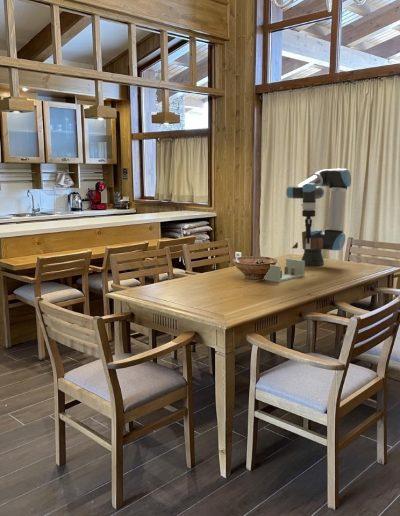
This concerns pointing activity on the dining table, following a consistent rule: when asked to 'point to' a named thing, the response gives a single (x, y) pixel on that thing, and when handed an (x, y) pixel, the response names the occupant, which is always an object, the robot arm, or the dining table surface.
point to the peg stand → (286, 271)
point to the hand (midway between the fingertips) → (307, 247)
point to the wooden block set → (312, 243)
